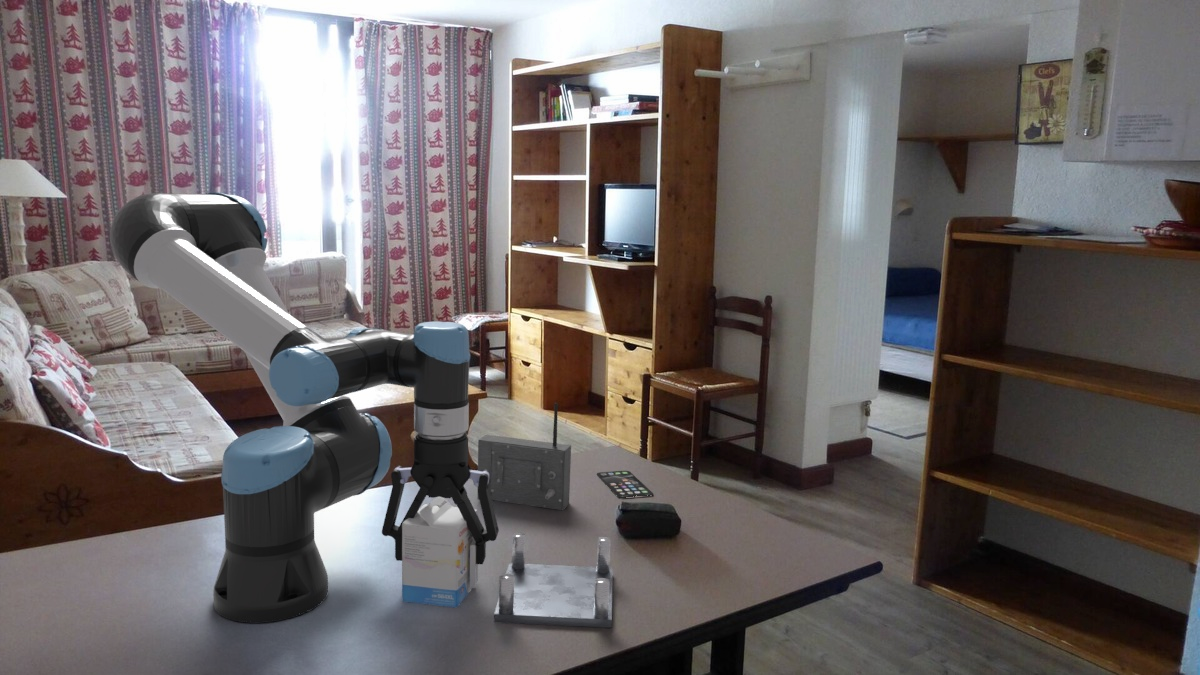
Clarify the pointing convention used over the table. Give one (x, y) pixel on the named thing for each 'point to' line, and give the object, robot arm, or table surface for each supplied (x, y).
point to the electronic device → (527, 469)
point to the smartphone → (624, 484)
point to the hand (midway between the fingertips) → (440, 582)
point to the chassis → (556, 590)
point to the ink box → (436, 555)
